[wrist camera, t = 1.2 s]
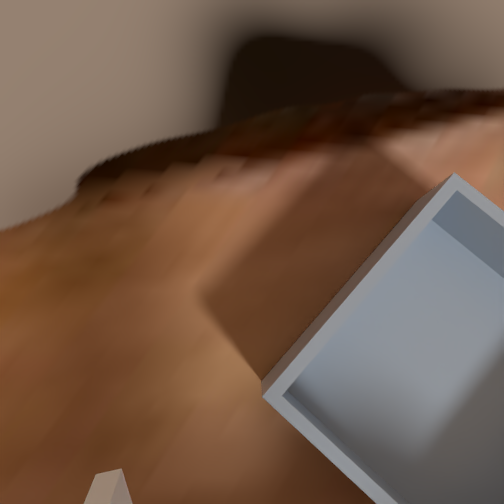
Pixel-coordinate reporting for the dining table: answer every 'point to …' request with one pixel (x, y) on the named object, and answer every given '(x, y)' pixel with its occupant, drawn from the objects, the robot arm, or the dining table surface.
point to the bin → (411, 359)
